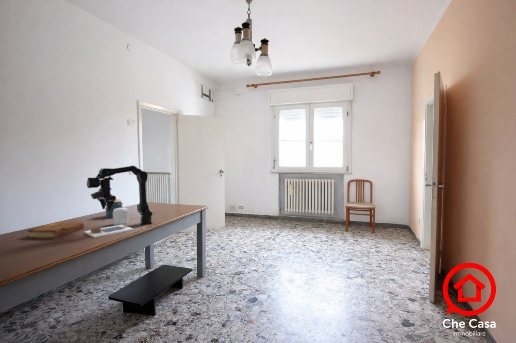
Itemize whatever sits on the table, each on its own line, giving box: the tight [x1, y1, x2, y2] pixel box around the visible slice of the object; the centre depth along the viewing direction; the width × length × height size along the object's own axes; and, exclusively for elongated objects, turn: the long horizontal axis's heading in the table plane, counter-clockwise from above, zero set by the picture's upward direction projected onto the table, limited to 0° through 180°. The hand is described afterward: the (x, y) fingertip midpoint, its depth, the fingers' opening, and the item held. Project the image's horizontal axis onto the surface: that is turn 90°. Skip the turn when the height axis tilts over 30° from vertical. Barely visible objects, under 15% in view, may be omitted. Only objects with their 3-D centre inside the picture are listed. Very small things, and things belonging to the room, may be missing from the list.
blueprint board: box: [83, 224, 134, 238], centre depth 179 cm, size 24×18×4 cm
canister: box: [104, 198, 124, 219], centre depth 223 cm, size 13×13×18 cm
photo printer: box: [112, 207, 129, 226], centre depth 199 cm, size 10×4×12 cm, turn 123°
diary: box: [27, 221, 85, 240], centre depth 173 cm, size 23×19×6 cm
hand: (106, 209), depth 180 cm, fingers open, 9 cm apart
